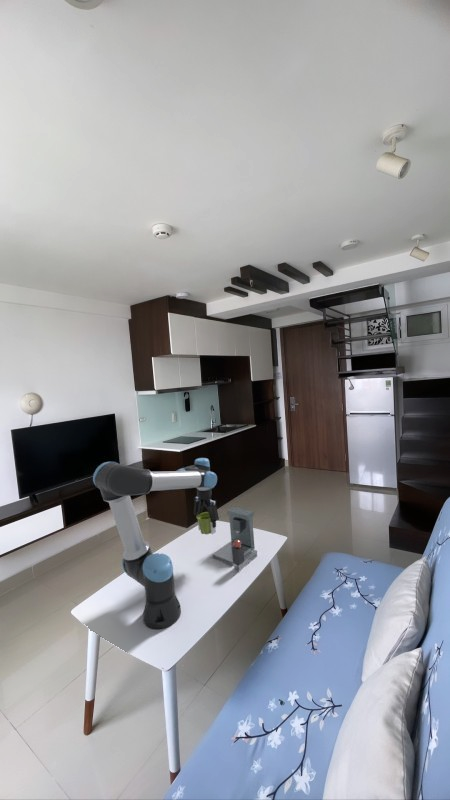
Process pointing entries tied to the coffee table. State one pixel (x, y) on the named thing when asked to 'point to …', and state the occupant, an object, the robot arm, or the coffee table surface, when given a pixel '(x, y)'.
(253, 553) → the frame
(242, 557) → the lever
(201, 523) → the plant pot
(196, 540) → the coffee table surface
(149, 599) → the robot arm
